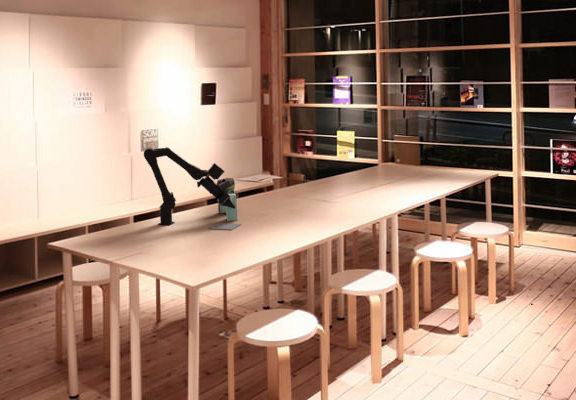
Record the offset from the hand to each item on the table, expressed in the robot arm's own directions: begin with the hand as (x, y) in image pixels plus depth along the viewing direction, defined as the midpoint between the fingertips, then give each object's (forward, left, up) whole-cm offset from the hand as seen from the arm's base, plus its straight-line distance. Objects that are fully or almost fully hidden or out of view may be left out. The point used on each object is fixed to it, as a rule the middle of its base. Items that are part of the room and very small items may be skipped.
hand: (233, 206), depth 359 cm
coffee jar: (+16, +11, -7) cm, 20 cm away
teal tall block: (-1, +1, -7) cm, 7 cm away
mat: (-17, -2, -7) cm, 19 cm away
